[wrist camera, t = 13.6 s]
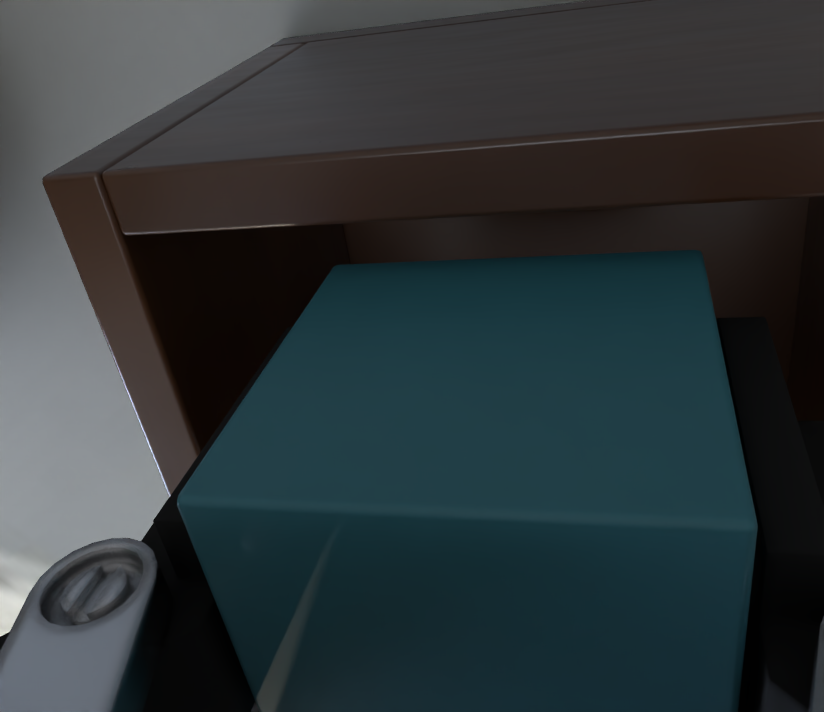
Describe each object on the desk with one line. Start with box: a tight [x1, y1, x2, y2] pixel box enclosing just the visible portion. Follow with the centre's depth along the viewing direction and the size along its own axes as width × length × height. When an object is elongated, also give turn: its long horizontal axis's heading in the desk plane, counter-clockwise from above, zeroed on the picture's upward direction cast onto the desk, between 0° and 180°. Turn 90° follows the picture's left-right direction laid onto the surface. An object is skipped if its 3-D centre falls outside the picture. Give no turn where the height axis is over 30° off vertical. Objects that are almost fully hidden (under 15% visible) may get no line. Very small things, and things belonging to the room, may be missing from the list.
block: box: [177, 250, 758, 712], centre depth 9 cm, size 5×5×5 cm
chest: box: [43, 0, 824, 497], centre depth 16 cm, size 14×12×9 cm
